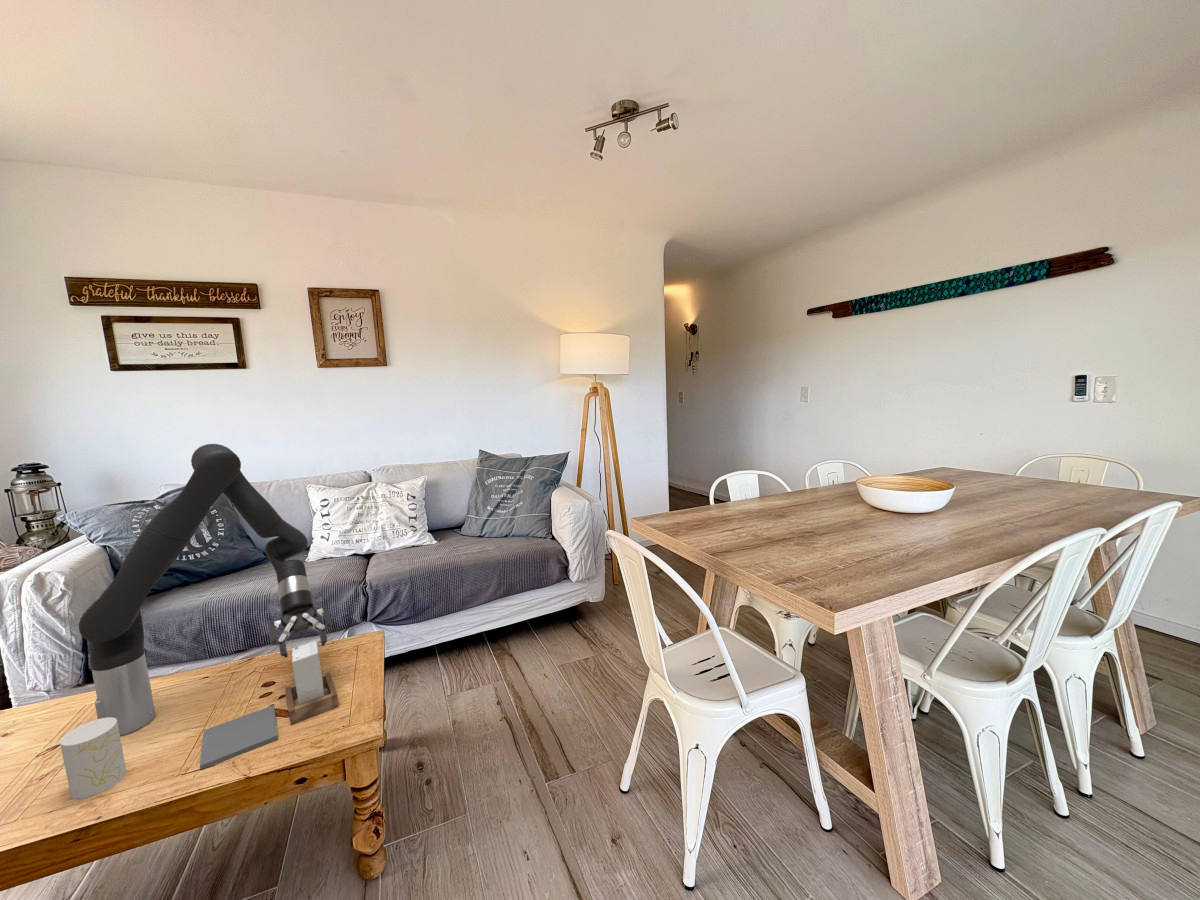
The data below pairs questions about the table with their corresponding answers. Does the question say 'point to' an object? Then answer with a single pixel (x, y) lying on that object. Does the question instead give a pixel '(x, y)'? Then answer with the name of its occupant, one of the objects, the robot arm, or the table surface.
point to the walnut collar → (311, 702)
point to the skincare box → (307, 673)
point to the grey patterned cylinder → (93, 757)
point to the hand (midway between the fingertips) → (305, 650)
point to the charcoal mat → (238, 736)
